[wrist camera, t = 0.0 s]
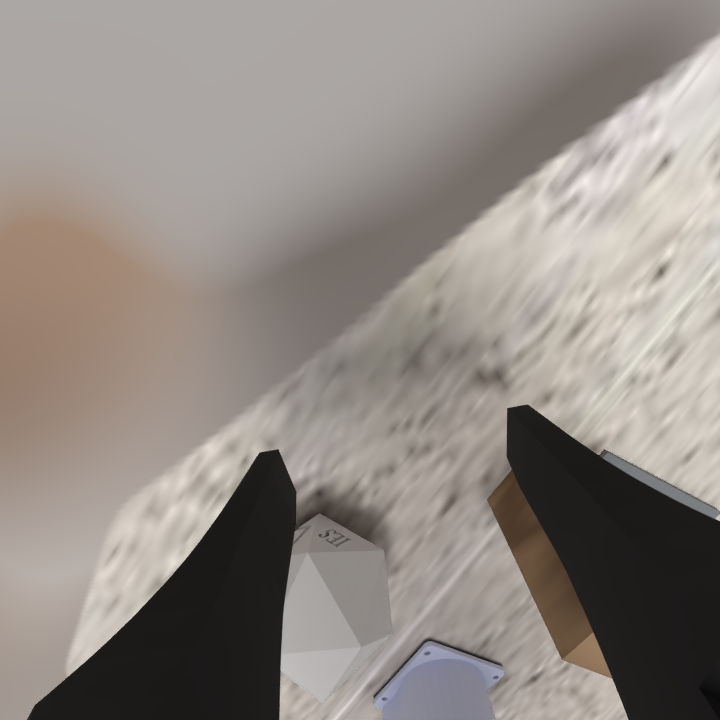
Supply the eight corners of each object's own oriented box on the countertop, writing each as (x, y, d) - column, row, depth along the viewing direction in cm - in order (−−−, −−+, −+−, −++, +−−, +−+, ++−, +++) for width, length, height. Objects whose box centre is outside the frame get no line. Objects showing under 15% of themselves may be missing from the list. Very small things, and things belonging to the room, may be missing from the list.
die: (387, 486, 26) (287, 559, 18) (436, 618, 25) (352, 765, 16) (303, 508, 31) (191, 574, 22) (341, 621, 29) (236, 738, 21)
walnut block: (532, 520, 27) (628, 684, 17) (487, 499, 26) (562, 659, 17) (589, 458, 25) (730, 605, 16) (542, 434, 24) (661, 572, 15)
